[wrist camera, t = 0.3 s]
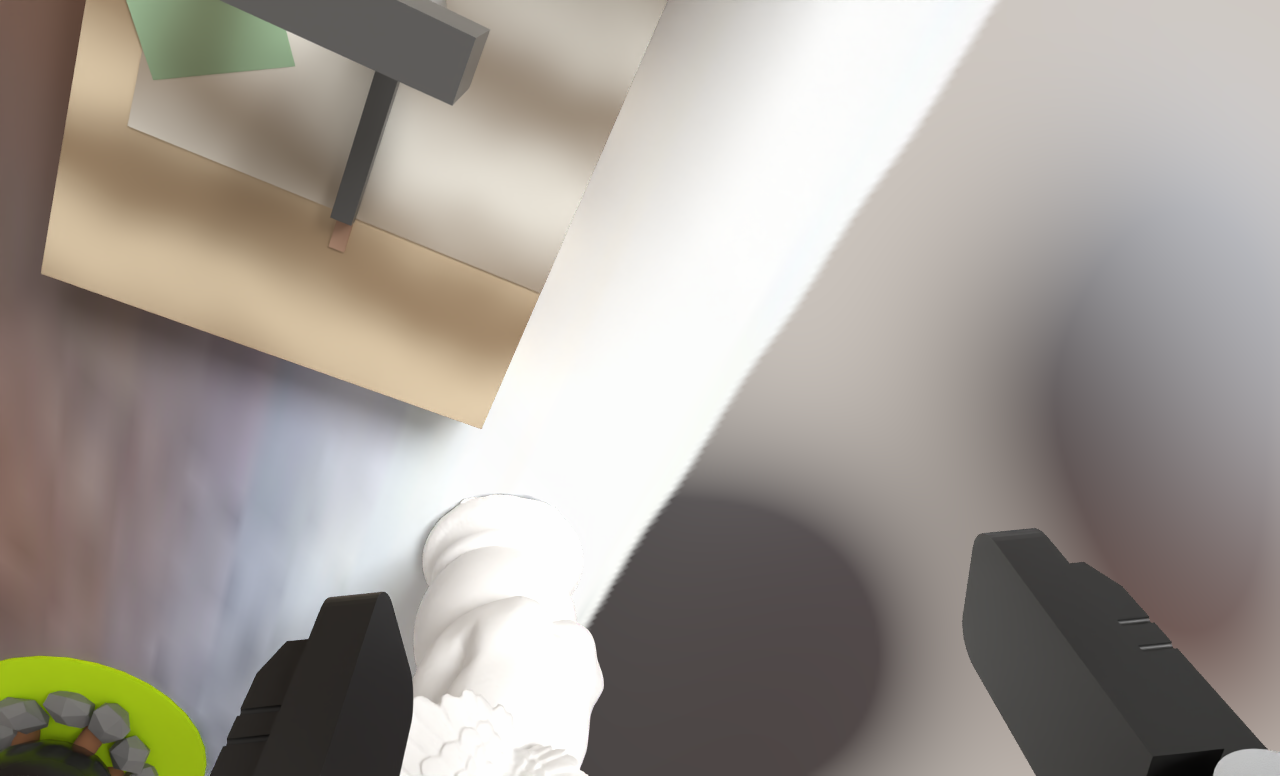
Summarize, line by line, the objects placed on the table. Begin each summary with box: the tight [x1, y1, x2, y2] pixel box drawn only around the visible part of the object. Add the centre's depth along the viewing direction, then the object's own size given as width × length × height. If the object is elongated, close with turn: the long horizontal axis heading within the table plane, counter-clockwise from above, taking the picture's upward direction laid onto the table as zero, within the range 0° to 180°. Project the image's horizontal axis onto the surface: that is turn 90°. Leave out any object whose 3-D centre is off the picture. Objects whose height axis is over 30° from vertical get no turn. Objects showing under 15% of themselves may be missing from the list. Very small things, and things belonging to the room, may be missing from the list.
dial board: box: [41, 0, 668, 429], centre depth 31 cm, size 24×18×4 cm
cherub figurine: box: [400, 494, 604, 776], centre depth 34 cm, size 12×12×22 cm
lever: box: [220, 0, 490, 226], centre depth 25 cm, size 9×6×9 cm, turn 155°
